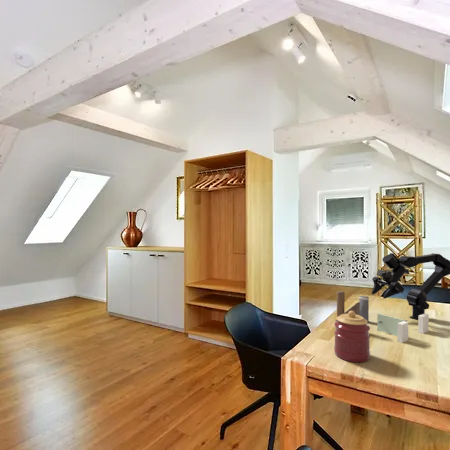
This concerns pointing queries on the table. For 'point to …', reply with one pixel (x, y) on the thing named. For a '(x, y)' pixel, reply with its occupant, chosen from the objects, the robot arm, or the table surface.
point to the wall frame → (422, 327)
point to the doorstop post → (364, 307)
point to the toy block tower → (342, 302)
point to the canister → (352, 337)
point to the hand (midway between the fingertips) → (377, 295)
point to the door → (388, 324)
